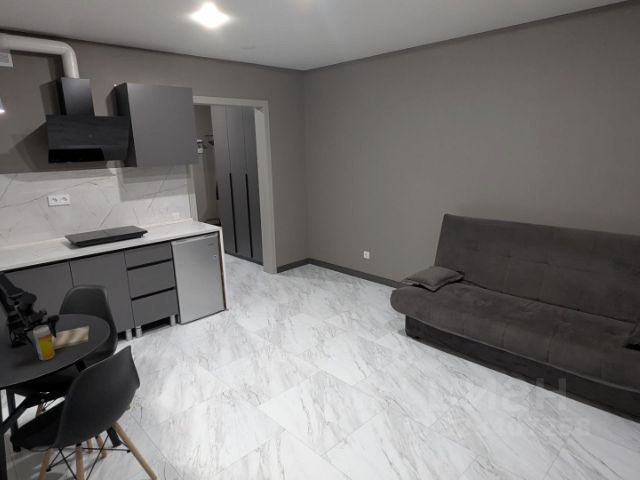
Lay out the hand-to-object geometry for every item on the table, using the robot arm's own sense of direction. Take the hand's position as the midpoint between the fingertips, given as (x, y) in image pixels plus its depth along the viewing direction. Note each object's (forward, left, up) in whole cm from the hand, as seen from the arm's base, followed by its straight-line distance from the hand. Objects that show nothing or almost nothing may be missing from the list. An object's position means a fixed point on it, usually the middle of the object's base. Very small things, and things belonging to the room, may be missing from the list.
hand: (45, 342), depth 182 cm
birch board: (+7, +16, -8) cm, 20 cm away
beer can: (-1, +1, -8) cm, 8 cm away
